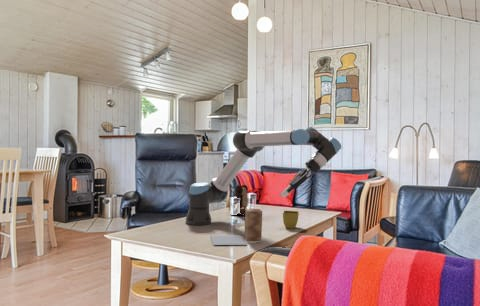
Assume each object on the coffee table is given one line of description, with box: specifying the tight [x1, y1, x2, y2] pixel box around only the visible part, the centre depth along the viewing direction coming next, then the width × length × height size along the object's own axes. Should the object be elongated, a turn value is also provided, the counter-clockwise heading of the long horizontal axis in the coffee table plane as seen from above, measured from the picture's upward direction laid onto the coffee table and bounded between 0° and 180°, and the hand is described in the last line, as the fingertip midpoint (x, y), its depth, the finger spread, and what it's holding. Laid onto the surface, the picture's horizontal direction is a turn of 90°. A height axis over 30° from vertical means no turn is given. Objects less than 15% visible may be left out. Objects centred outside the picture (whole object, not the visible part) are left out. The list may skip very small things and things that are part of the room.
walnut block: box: [243, 208, 263, 243], centre depth 186 cm, size 7×7×15 cm
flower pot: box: [282, 210, 300, 229], centre depth 221 cm, size 9×9×9 cm
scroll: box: [235, 184, 249, 215], centre depth 258 cm, size 15×15×20 cm
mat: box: [209, 234, 248, 246], centre depth 184 cm, size 16×18×1 cm
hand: (282, 196), depth 188 cm, fingers closed
